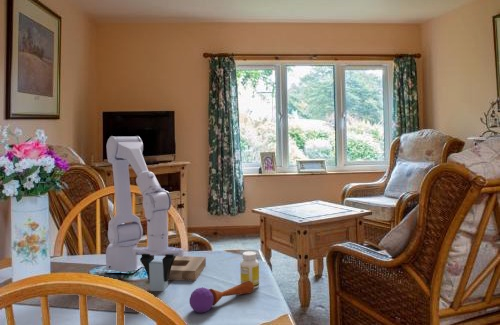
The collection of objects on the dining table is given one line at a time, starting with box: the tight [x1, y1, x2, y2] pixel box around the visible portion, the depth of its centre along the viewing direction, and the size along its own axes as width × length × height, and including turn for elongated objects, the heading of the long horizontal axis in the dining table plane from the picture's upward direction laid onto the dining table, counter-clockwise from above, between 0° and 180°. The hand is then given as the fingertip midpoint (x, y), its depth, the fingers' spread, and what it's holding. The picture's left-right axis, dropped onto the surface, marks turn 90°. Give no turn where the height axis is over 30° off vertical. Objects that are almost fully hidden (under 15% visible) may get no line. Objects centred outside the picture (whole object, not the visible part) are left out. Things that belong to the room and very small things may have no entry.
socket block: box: [168, 255, 207, 282], centre depth 128 cm, size 14×14×3 cm
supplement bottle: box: [239, 250, 260, 290], centre depth 115 cm, size 5×5×10 cm
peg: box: [149, 258, 169, 292], centre depth 114 cm, size 4×4×8 cm
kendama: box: [189, 281, 255, 314], centre depth 104 cm, size 6×6×20 cm
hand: (158, 280), depth 114 cm, fingers closed on peg, 4 cm apart
